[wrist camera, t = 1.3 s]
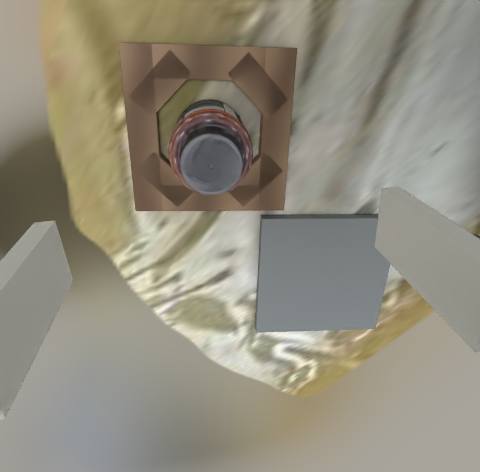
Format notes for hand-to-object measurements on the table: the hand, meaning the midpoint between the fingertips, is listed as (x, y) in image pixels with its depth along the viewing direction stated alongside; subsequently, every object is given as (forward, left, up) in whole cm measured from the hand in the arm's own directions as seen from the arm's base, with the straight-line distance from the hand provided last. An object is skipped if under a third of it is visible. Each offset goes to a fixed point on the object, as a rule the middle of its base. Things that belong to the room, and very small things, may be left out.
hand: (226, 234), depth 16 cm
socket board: (+1, 0, -21) cm, 21 cm away
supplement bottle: (+1, 0, -21) cm, 21 cm away
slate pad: (-11, +15, -21) cm, 28 cm away
